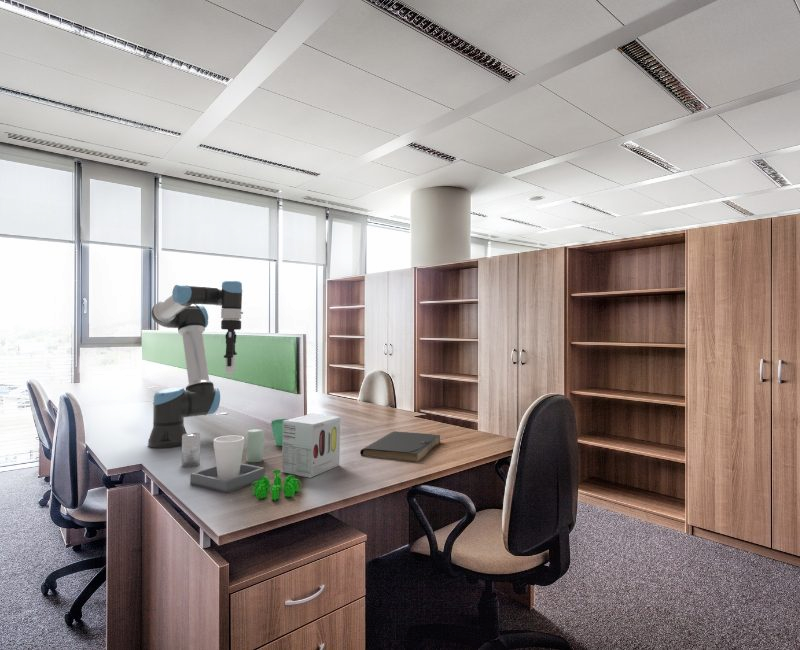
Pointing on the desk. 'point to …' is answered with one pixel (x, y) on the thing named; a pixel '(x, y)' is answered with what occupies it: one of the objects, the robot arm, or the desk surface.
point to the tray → (212, 482)
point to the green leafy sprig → (276, 486)
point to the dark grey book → (402, 446)
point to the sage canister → (255, 445)
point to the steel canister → (190, 450)
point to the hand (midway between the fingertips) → (230, 372)
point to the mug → (278, 430)
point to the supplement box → (310, 444)
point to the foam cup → (228, 455)
